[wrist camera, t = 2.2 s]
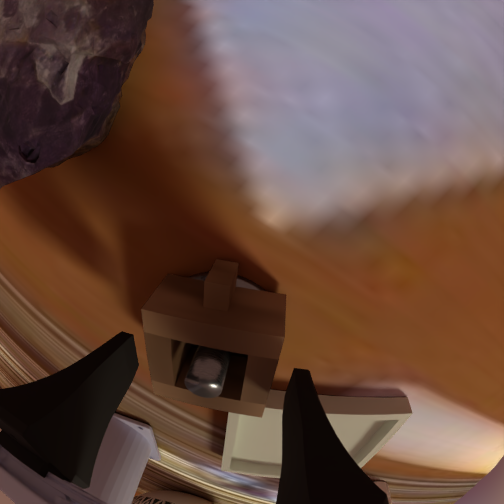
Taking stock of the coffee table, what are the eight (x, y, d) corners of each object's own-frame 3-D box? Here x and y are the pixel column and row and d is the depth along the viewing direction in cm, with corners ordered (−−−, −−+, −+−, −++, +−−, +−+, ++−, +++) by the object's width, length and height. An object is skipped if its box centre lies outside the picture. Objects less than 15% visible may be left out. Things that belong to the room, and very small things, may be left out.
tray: (223, 457, 21) (221, 470, 20) (234, 383, 16) (230, 401, 15) (347, 467, 21) (348, 479, 19) (407, 397, 16) (412, 413, 14)
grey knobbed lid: (168, 355, 16) (142, 407, 12) (163, 261, 14) (122, 309, 10) (273, 376, 16) (267, 435, 12) (296, 284, 13) (297, 345, 9)
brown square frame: (171, 356, 16) (153, 394, 13) (167, 250, 13) (138, 282, 10) (266, 375, 15) (261, 417, 13) (291, 271, 12) (290, 311, 10)
